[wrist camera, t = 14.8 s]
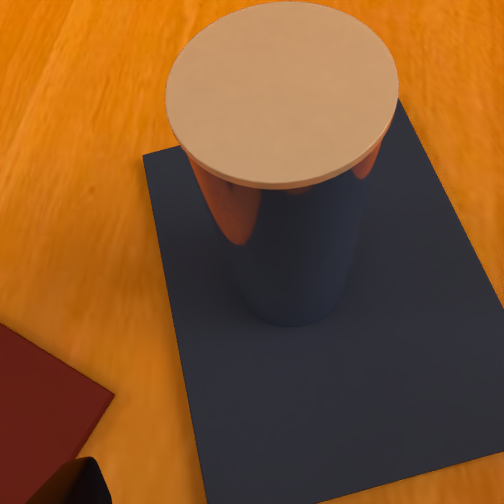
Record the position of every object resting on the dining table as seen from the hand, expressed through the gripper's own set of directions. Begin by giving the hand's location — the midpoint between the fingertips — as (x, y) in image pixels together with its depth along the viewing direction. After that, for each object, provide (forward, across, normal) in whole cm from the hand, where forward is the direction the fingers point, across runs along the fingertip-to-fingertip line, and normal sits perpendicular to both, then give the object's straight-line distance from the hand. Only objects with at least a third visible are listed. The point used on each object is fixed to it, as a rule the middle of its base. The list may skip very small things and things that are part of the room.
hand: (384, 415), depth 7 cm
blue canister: (+14, 0, +4) cm, 15 cm away
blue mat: (+14, -1, +4) cm, 15 cm away
